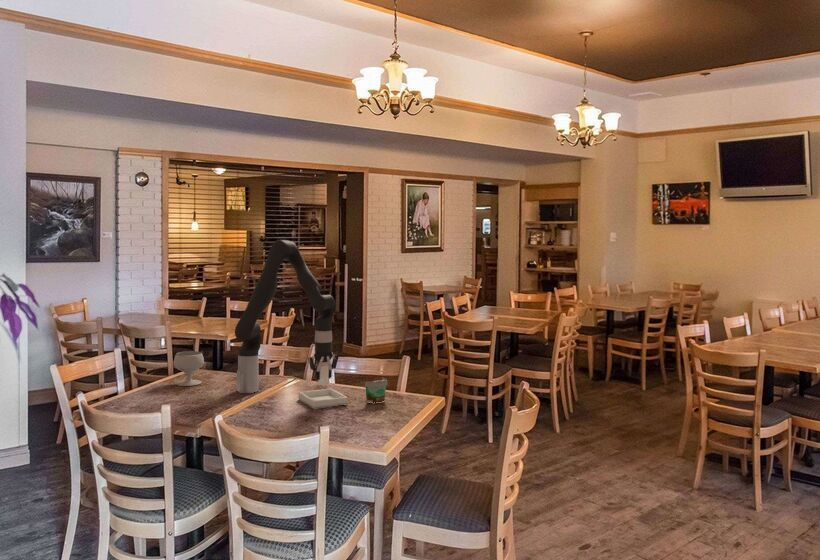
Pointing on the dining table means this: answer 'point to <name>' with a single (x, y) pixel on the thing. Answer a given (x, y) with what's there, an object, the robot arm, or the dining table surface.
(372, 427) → the dining table surface
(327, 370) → the salt shaker
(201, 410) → the dining table surface
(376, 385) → the food container
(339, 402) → the tray
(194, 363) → the chalice
